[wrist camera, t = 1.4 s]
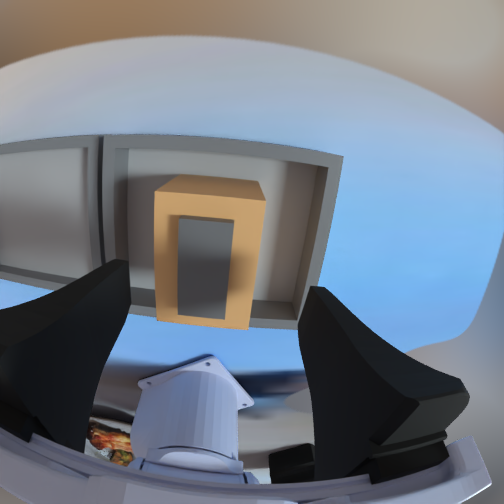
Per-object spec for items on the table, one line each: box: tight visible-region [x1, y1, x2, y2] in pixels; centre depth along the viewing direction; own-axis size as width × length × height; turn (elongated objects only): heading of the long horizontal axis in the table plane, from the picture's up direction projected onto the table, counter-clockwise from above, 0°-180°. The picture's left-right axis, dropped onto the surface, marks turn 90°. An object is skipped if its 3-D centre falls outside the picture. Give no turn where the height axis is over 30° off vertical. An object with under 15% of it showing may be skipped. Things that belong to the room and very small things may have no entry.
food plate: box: [84, 415, 136, 467], centre depth 32 cm, size 25×23×4 cm
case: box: [102, 134, 344, 330], centre depth 19 cm, size 14×12×3 cm
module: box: [154, 174, 266, 330], centre depth 16 cm, size 5×7×7 cm
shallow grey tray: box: [0, 134, 112, 291], centre depth 18 cm, size 15×12×2 cm
